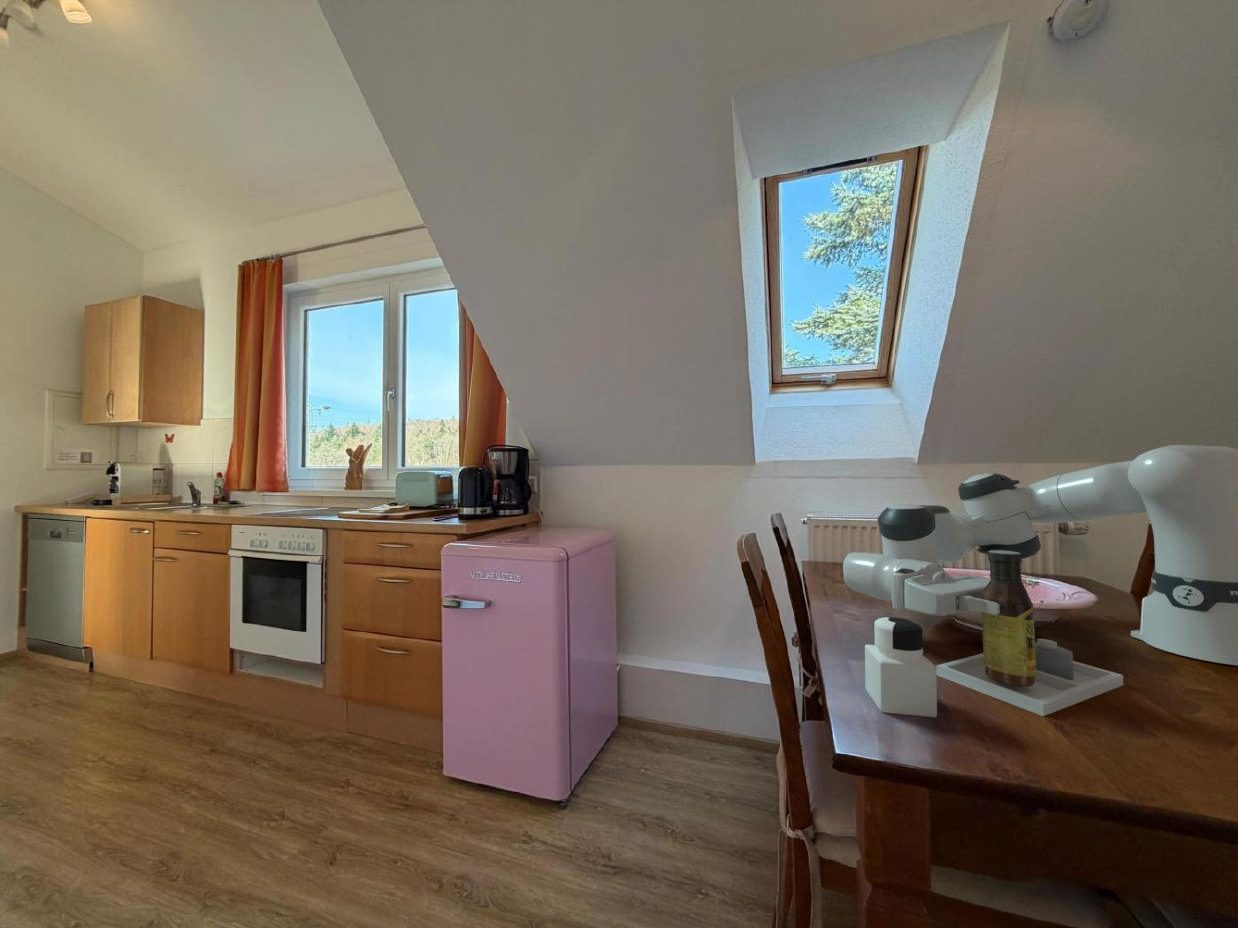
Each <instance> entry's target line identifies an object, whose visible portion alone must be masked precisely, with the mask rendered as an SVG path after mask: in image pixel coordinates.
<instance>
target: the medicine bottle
mask: <svg viewBox="0 0 1238 928" xmlns="http://www.w3.org/2000/svg"><path fill="white" fill-rule="evenodd" d="M923 639H924V638H923V628H922V627H921V626H920V624H918V623H916V622H914V621H912V620H909V619H907V618H902V617H901V618H900V617H894V616H886V617H885V616H884V617H880V618H877V619H876V620H875V621H874V644H865V646H864V675H865V677H864V678H865V681H864V682H865V684H864V685H865V688H864V689H865V691H866V692H867V694H868V695H869V696H870V698H871V699H872V701H873V702H874V703H875V705H876V706H877V707H878V709H879V711H880V712H881V713H883V714H894V715H905V716H906V715H907V716H913V717H924V718H925V717H926V718H937V716H938V703H937V701H938V699H937V698H938V697H937V695H938V693H937V690H938V689H937V688H938V687H937V671H936V665H934V663H932V662H931V661H930V660H929V659H928V658H927V657H925V656H924V655H923V654H924V647H923V645H924V644H923Z"/></svg>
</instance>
